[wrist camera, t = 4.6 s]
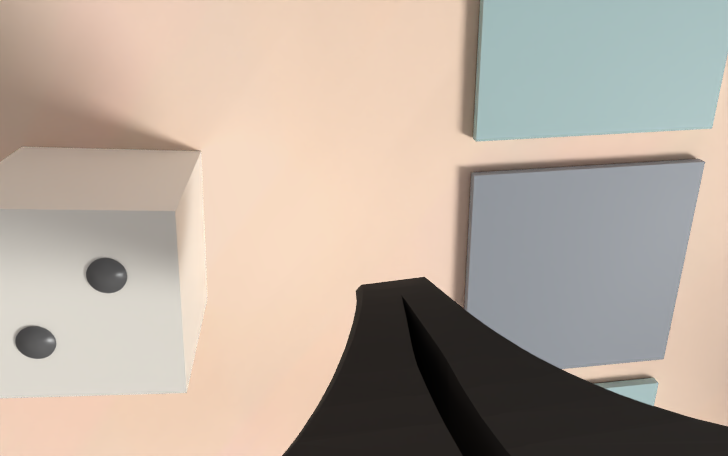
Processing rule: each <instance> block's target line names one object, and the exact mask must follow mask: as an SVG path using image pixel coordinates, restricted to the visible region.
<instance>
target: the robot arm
mask: <svg viewBox="0 0 728 456" xmlns="http://www.w3.org/2000/svg"><path fill="white" fill-rule="evenodd" d="M356 298H357V305H356V311H355V316H354V321H353V325H352V328H351V331H350V335H349V338H348V341H347V344H346V347H345V350H344V352H343V355H342V357H341V360H340V362H339V364H338V367H337V369H336V372H335V374H334V376H333V378H332V380H331V382H330V384H329V386H328V388H327V390H326V392H325V394H324V395H323V397H322V399H321V401H320V402H319V404H318V406H317V408H316V409H315V411H314V412H313V414H312V415H311V417H310V418H309V420H308V422H307V423H306V425H305V426H304V428H303V429H302V431H301V432H300V433H299V435H298V436H297V438H296V439H295V440H294V442H293V443H292V444H291V446H290V447H289V448H288V449H287V451H286V452H285V453H284V454H283V455H282V456H728V426H723V425H719V424H715V423H711V422H707V421H702V420H698V419H694V418H691V417H687V416H684V415H681V414H678V413H674V412H671V411H668V410H665V409H661V408H658V407H655V406H652V405H649V404H646V403H643V402H640V401H637V400H634V399H631V398H629V397H626V396H623V395H620V394H618V393H615V392H613V391H610V390H608V389H605V388H603V387H600V386H598V385H595V384H593V383H590V382H588V381H586V380H583V379H581V378H579V377H577V376H574V375H572V374H570V373H568V372H566V371H564V370H562V369H560V368H558V367H556V366H554V365H552V364H550V363H548V362H546V361H544V360H542V359H540V358H538V357H536V356H535V355H533V354H531V353H529V352H528V351H526V350H524V349H522V348H521V347H519V346H517V345H516V344H514V343H513V342H511V341H510V340H508V339H506V338H505V337H503V336H502V335H500V334H498V333H497V332H495V331H494V330H492V329H491V328H490V327H488V326H487V325H485V324H484V323H482V322H481V321H480V320H478V319H477V318H475V317H474V316H473V315H471V314H470V313H469V312H467V311H466V310H465V309H463V308H462V307H461V306H460V305H458V304H457V303H456V302H455V301H453V300H452V299H451V298H450V297H448V296H447V295H446V294H445V293H444V292H442V291H441V290H440V289H439V288H437V287H436V286H435V285H434V284H433V283H431V282H430V281H429V280H428V279H426V278H425V277H420V278H412V279H404V280H397V281H389V282H381V283H373V284H365V285H361V286H360V287H359V288H358V289H357V290H356Z"/></svg>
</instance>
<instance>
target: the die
mask: <svg viewBox="0 0 728 456" xmlns="http://www.w3.org/2000/svg"><path fill="white" fill-rule="evenodd" d="M207 298H208V296H207V273H206V250H205V227H204V203H203V180H202V157H201V151H178V150H138V149H99V148H59V147H21V148H19V149H18V150H16V151H15V152H14V153H12V154H11V155H9V156H8V157H6V158H5V159H3V160H2V161H0V398H28V397H62V396H96V395H130V394H164V393H187V389H188V384H189V380H190V375H191V371H192V366H193V362H194V357H195V353H196V348H197V344H198V339H199V334H200V330H201V325H202V321H203V316H204V312H205V307H206V303H207Z"/></svg>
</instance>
